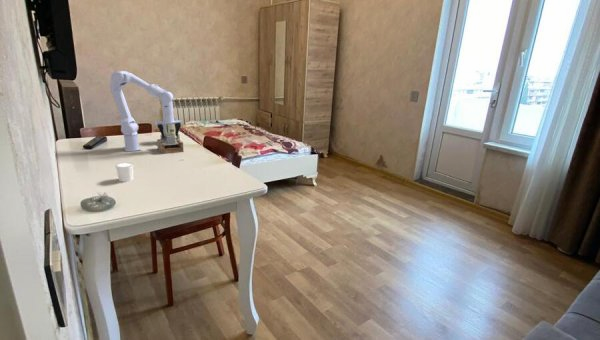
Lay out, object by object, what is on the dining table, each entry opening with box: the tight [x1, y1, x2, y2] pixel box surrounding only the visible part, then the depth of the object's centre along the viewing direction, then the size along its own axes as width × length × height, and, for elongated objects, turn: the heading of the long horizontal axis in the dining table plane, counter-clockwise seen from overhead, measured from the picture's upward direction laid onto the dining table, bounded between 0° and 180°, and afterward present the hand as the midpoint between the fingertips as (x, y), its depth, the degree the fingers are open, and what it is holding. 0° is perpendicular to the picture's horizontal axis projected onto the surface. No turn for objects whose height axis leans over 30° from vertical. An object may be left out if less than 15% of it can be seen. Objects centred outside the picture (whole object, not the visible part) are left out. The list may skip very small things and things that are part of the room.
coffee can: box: [161, 119, 181, 141], centre depth 207 cm, size 10×10×14 cm
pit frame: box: [156, 138, 184, 155], centre depth 192 cm, size 13×12×6 cm
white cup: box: [115, 162, 134, 183], centre depth 144 cm, size 7×7×7 cm
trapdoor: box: [160, 134, 179, 145], centre depth 192 cm, size 9×9×3 cm
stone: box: [166, 134, 175, 144], centre depth 190 cm, size 4×4×4 cm
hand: (169, 136), depth 190 cm, fingers open, 7 cm apart
